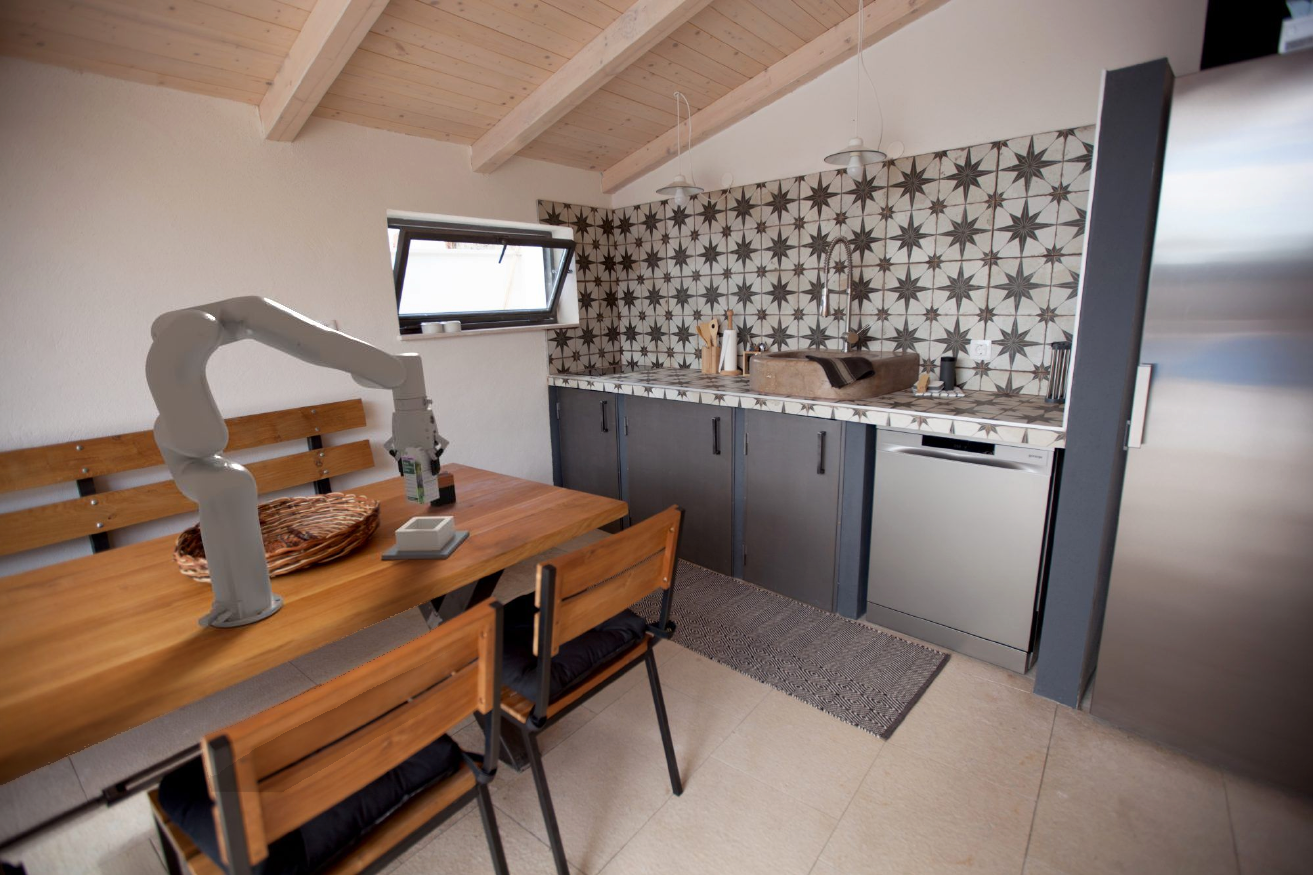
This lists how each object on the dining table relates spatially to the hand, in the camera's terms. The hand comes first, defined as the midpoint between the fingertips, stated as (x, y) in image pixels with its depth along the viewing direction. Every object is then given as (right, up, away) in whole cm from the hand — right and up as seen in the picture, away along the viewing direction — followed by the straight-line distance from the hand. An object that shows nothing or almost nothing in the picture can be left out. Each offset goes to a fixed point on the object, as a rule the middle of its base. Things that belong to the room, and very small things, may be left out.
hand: (420, 474), depth 151 cm
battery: (-8, -12, +39) cm, 41 cm away
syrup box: (0, -7, +2) cm, 7 cm away
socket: (+1, -19, +4) cm, 19 cm away
